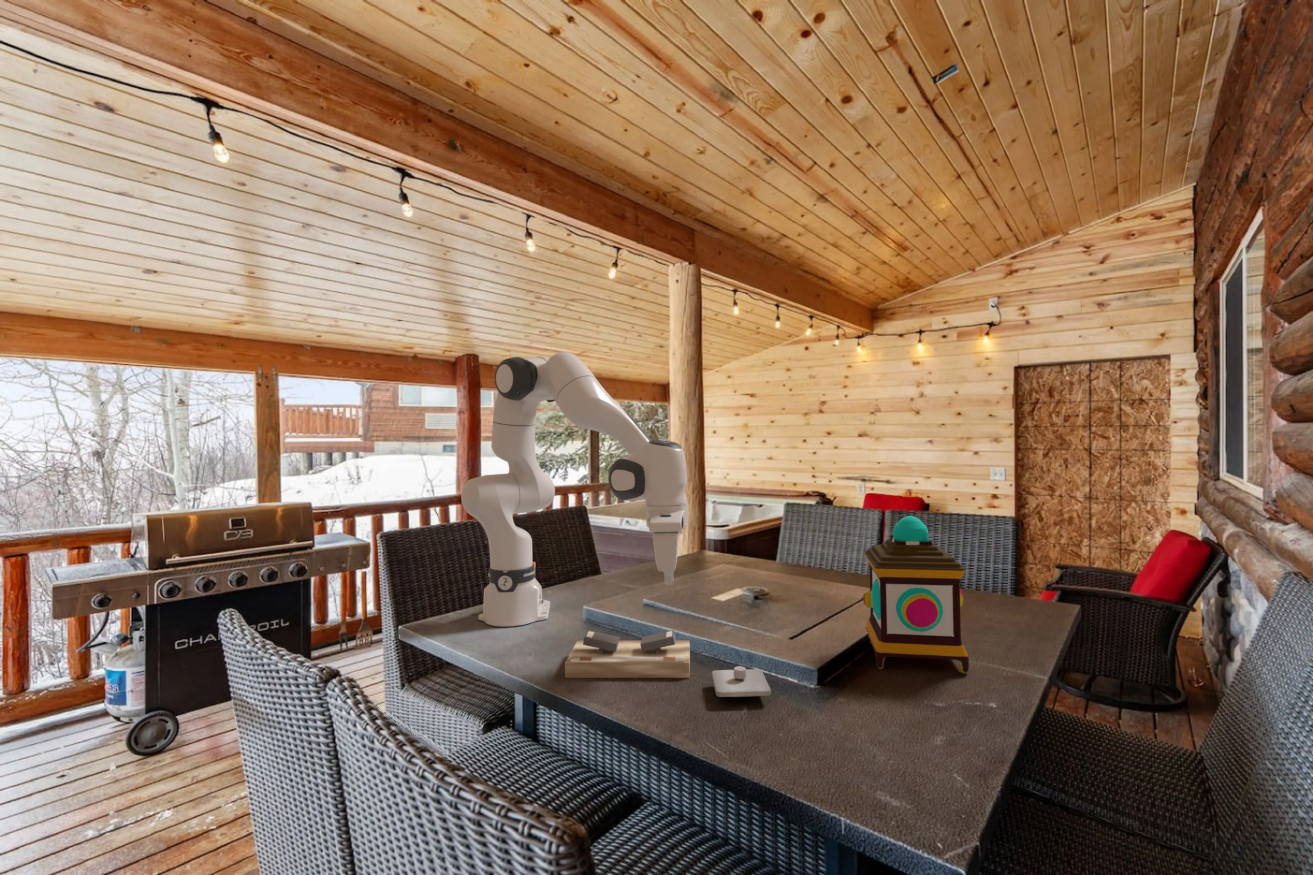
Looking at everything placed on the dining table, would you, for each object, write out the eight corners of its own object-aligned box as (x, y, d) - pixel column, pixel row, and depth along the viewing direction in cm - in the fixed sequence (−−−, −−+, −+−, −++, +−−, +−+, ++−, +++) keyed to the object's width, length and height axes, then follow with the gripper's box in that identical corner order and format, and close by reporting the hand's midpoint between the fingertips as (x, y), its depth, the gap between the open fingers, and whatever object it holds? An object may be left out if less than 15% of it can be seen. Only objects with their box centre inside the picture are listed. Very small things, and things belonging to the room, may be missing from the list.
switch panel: (577, 653, 134) (577, 636, 134) (690, 653, 133) (689, 635, 133) (565, 677, 121) (564, 657, 121) (689, 677, 120) (688, 657, 120)
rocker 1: (586, 637, 130) (588, 629, 130) (618, 644, 129) (619, 636, 129) (582, 644, 125) (584, 636, 125) (615, 651, 125) (617, 643, 125)
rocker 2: (643, 644, 129) (642, 636, 129) (675, 637, 129) (673, 629, 129) (642, 651, 125) (640, 643, 125) (674, 644, 124) (673, 636, 124)
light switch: (772, 706, 107) (771, 677, 107) (717, 707, 107) (716, 679, 107) (761, 683, 117) (761, 657, 117) (711, 684, 117) (710, 658, 117)
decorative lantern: (858, 638, 140) (855, 509, 140) (950, 642, 136) (947, 509, 136) (871, 672, 121) (867, 522, 120) (978, 678, 116) (975, 523, 116)
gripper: (655, 511, 137) (657, 572, 137) (648, 525, 116) (650, 596, 116) (683, 511, 136) (685, 571, 136) (681, 524, 116) (683, 596, 116)
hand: (669, 583), depth 126 cm, fingers closed
